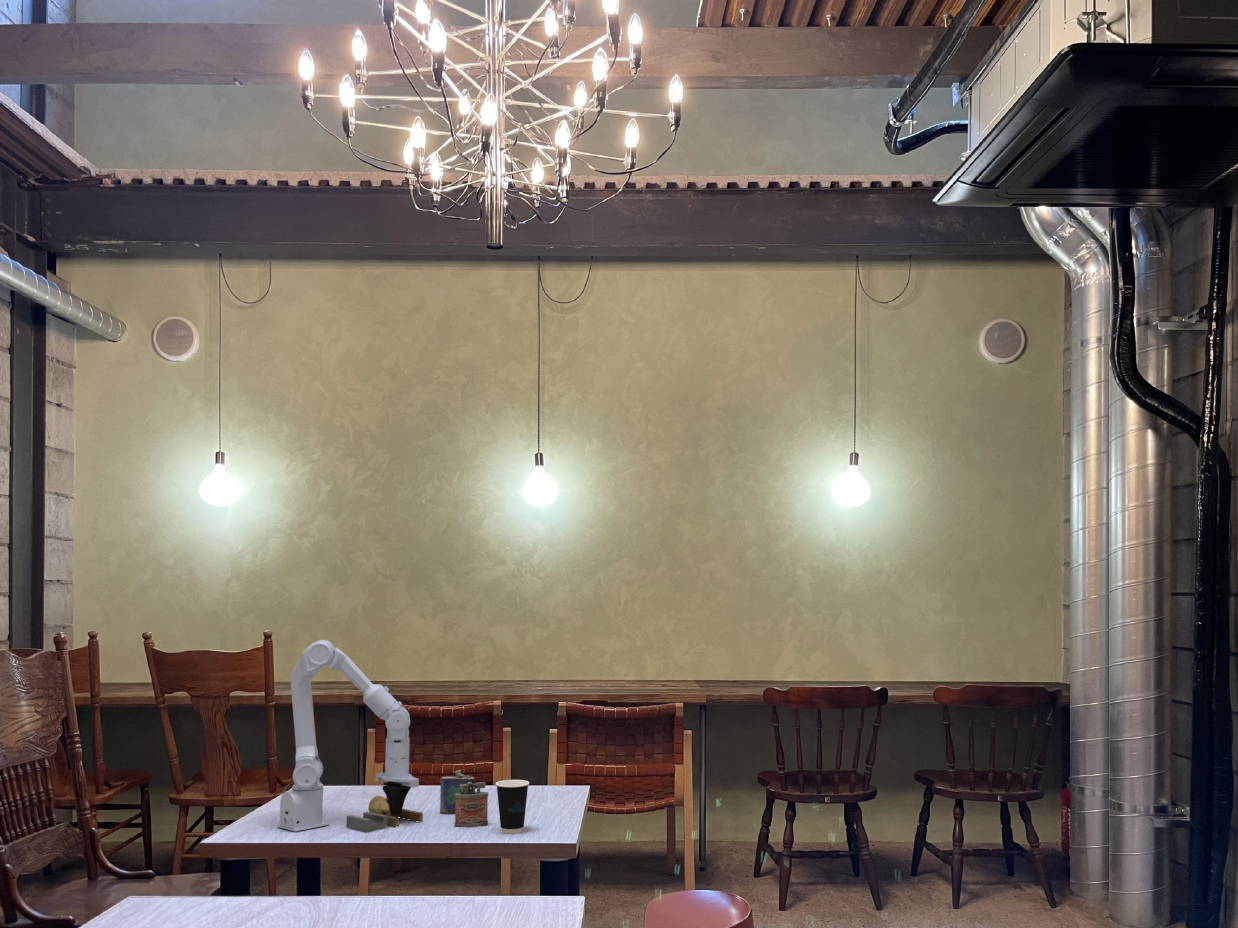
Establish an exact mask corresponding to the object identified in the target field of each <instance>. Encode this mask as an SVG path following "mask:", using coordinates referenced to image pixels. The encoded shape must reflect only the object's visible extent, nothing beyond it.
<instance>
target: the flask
mask: <svg viewBox="0 0 1238 928" xmlns="http://www.w3.org/2000/svg"><path fill="white" fill-rule="evenodd" d="M461 771H462V769H458V770H456V771H454V773H455V776H442V777H440V796H439V797H440V801H439V803H440V804H439V813H441V814H442V815H452V814H455V801H456V798H455V794H457V793H461V792H460V785H462V784H467V783H468V782H472V784H476V778H475V777H474V776H470V775H464V774H463V773H461ZM465 790H466V789H464V793H465ZM474 790H475V791H476V789H474Z"/></svg>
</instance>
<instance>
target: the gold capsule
mask: <svg viewBox="0 0 1238 928" xmlns="http://www.w3.org/2000/svg"><path fill="white" fill-rule="evenodd" d="M368 812H371V813H376V814H378V813H379V814H383V815H388V816H392V817H397V818H398V817H399V816H400V815H401V814H400V815H395V816H394V815H391V811H390V807H389V803H388V799H387V797H386V796H382V795H376V796H374V797H372V799H371V800H369V803H368Z"/></svg>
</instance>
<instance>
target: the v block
mask: <svg viewBox="0 0 1238 928" xmlns="http://www.w3.org/2000/svg"><path fill="white" fill-rule="evenodd" d="M362 813H363V817H361V816H357V815H352V814H350V815H346V821H345V822H346V823H345V824H346V825H345V826H346V827H347V829H351V830H354V829H355V831H359V832H363V833H369V832H370V831H371V832H373V831H374V832H375V831H379V829H380V830H383V828H384V829H387V828H386V827H389V826H388V816H385V815H381V814H376V813H371V812H369V811H364V812H362ZM346 827H345V828H346ZM371 832H370V833H371Z"/></svg>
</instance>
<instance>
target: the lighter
mask: <svg viewBox="0 0 1238 928" xmlns="http://www.w3.org/2000/svg"><path fill="white" fill-rule="evenodd" d="M486 787H487V786H486V782H485V781H483V782H475V784H472V782H468V783H467V784H462V785H460V792H461V793H457V794H455V798H456V801H455V817H454V828H456V827H467V828H478V826H481V827H487V826H489V820H488V812H489V811H488V806H489V805H488V803H489V801H488V799H489V798H488V797H489V791H481V789H486ZM464 789H466V790H465V793H464ZM474 789H475V790H474Z"/></svg>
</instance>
